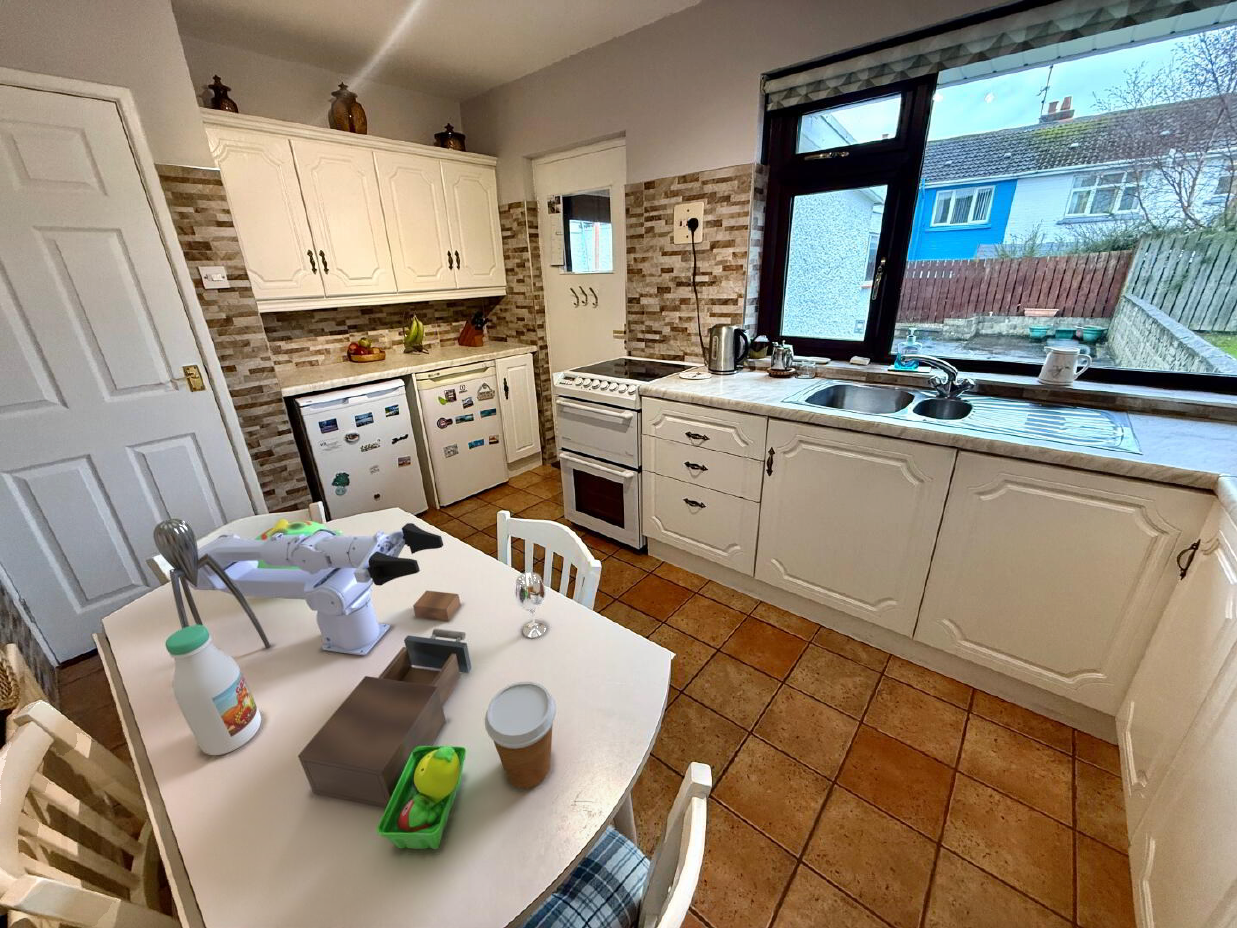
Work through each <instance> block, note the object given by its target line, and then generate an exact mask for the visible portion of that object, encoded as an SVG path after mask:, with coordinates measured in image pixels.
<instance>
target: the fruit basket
mask: <svg viewBox="0 0 1237 928" xmlns="http://www.w3.org/2000/svg"><path fill="white" fill-rule="evenodd" d="M466 755H467V749H466V748H465V747H464V746H450V745H432V746H419V747H417V748H415V749H414V750H413V751H412V753H411V755H410V757H409V760H408V762H407V764H406V766H405V769H404V771H403V773H402V775H401V777H400V779H399V782H398V784H397V786H396V788H395V790H394V792H393V795H392V797H391V799H390V801H389V803H388V806H387V808H385V810H384V812H383V814H382V816H381V818H380V820H379V823H378V825H377V827H376V830H377V831H376V832H377V833H378V834H379V835H380V836H382V837H383V838H386V839H387V840H389V841H390V843H392V844H393V845H394V846H396V848H398V849H404V848H409V849H417V850H419V849H420V850H421V849H423V850H424V849H433V850H436V849H438V848H439V847H440V844H441V841H442V838H443V831H444V830H445V828H446V827H447V824H448V819H449V818H450V811H451V809H452V808H453V805H454V802H455V800H456V795H457V791H458V789H459V787H460V784H461V782H462V776H463V770H464V762H465V760H466Z"/></svg>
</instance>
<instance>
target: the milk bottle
mask: <svg viewBox="0 0 1237 928" xmlns="http://www.w3.org/2000/svg"><path fill="white" fill-rule="evenodd" d="M211 641H212V637H211V636H210V632H209V630H208V628H207V627H206V626H205V625H204V624H203V625H196V624H194V625H189V627H186V628H183V629H182V628H181V629H179V630H177V631H175V632H174V633H172V634H171V635H170V636H168V638H167V639H166V640H165V643H164V645H165V648H166V650H167V653H168V654H169V656H170V658H172V659H174V673H173V678H172V692H173V696H174V698H175V701H176V703H177V705H178V707H179V709H180V711H181V713H182V715H183V717H184V719H185V721H186V723H187V726H188V727H189V729H190V731H191V733H192V735H193V737H194V739H195V740H196V743H197V744H198V746H199V748H200V750H201V751H202V752H203V753H204V754H206V755H209V756H221V755H224V754H228V753H230V752H233V751H235V750H237V749H238V748H240V747H242V746H244V745H245V744H246V743H247V742H248V741H250V740H251V739H252V738H253V737H254V736H255V734H256V733H257V732H258V731H259V728H260V727H261V724H262V723H261V722H262V716H261V714H260V711H259V709H258V706H257V703H256V702H255V699H254V696H253V695H252V692H251V690H250V688H249V686H248V684H247V681H246V678H245V677H244V674H243V673H242V671H241V669H240V666H239V665H238V663H237V662H236V660H235V659H233V657H232V656H231V655H229V654H227V653H226V652H224V651H222V650H221V649H219V648H217V647H216V646H215V645H214V644H213V643H212V642H211Z"/></svg>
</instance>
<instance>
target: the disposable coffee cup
mask: <svg viewBox="0 0 1237 928" xmlns="http://www.w3.org/2000/svg"><path fill="white" fill-rule="evenodd" d="M556 714H557V705H556V701H555V699H554V697H553V696H552V695H551V693H550V692H549V691H548V689H546V687H544V686H543V685H541V684H540V683H537V682H534V681H530V680H529V681H525V680H524V681H517V682H514V683H511V684H509V685H506V686H505V687H503V688H502V689H500V690H499V691H498V692H497V693H496V694H494V696H493V697H492V698H491V700H490V702H489V704H488V707H487V710H486V712H485V716H484V727H485V731H486V733H487V735H488V737H489V738H490V739H491V740H492V741H493V743H494V746H495V749H496V751H497V754H498V756H499V760H500V763H501V765H502V767H503V770H504V772H505V775H506V778H507V780H508V781H509V782H510V784H511V785H512V786H514V787H515V788H518V789H531V788H534V787H536V786H538V785H539V784H540V783H542V782H543V781H544V780H545V779H546V778H547V776H548V774H549V772H550V769H551V758H552V739H553V727H554V725H553V724H554V722H555V719H556Z"/></svg>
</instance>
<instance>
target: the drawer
mask: <svg viewBox="0 0 1237 928" xmlns="http://www.w3.org/2000/svg"><path fill="white" fill-rule="evenodd" d="M447 639H450V640H447ZM465 639H466V632H465V631H458V630H449V629H442V628H433V629H432V633H431V636H430V637H424V636H417V635H409V634H408V635H406V637H405V638H404V639H403V643H404V646H403V647H402V648H401V649H400V650H399V651H398V653H397V654H396V655H395V656H394V657H393V658H392V660H391V661H390V662H389V663H388V664H387V666H386V667H385V669H384V670H383V671H382V672H381V673H380V675H379V676H378V677H377V678H382V679H389V680H396V681H402V682H409V683H416V684H422V685H429V686H436V687H438V690H439V694H440V698H441V702H442V707H443V708H444V705H445V704H446V702H447V700H448V699H449V697H450V696H451V694H452V692H453V691H454V689H455V688H456V686H457V685H458V683H459V681H460V680H461V678H462V676H461V673H464V674H469V673H470V671H471V670H472V663H471V657H470V654H469V647H468V643H467V642H462V641H465ZM414 666H415V667H414ZM420 667H422V668H420ZM429 668H430V669H429ZM434 669H435V670H434ZM436 669H437V670H436Z"/></svg>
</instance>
